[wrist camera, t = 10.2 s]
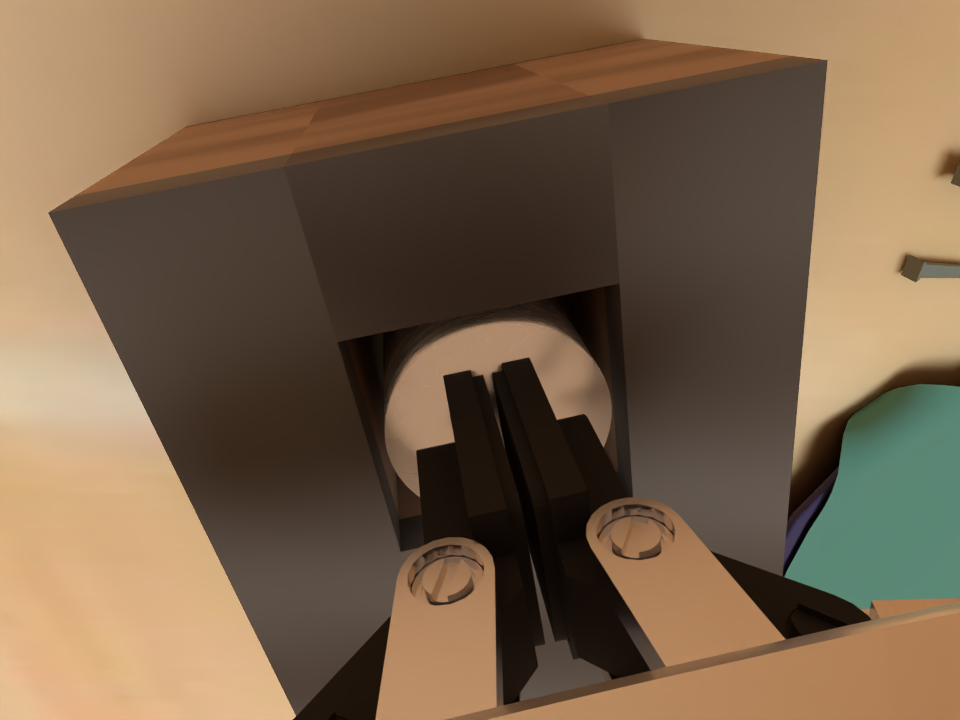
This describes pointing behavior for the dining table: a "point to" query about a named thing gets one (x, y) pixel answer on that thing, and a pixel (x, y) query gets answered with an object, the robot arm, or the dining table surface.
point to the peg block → (462, 304)
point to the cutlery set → (888, 496)
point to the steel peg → (483, 373)
